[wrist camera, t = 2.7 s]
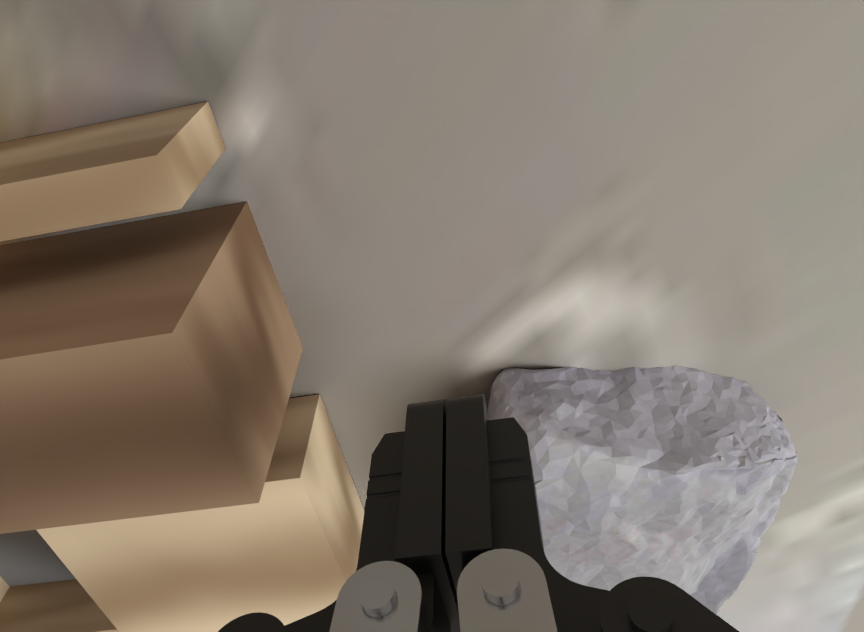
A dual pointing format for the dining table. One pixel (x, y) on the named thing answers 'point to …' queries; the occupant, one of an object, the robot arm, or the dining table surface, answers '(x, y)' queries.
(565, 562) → the stone block
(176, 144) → the box
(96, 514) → the walnut block
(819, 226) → the dining table surface
